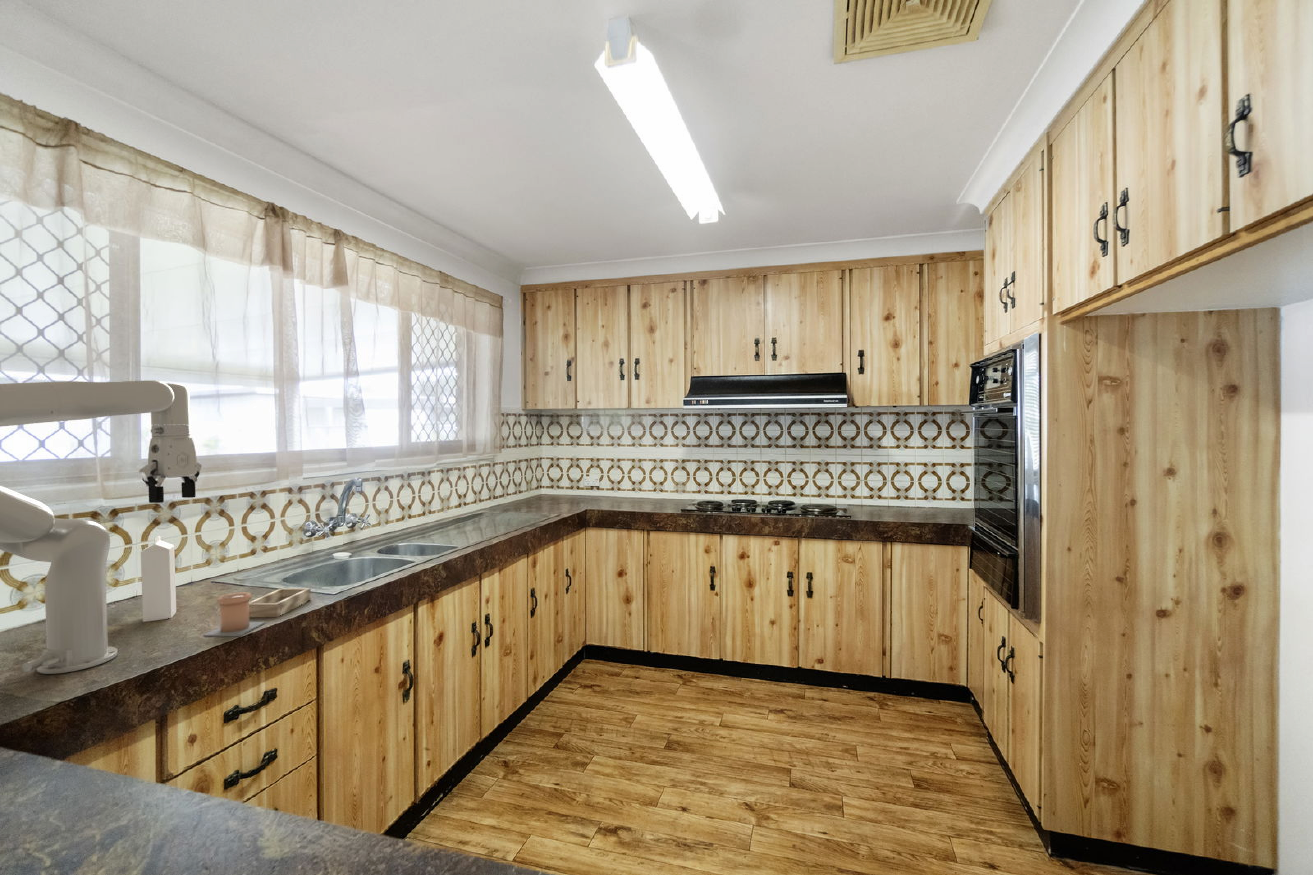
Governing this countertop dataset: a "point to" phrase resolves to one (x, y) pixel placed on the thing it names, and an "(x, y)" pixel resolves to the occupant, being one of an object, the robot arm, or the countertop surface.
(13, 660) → the countertop surface
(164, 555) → the milk
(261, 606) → the wooden tray
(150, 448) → the robot arm
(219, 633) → the mat
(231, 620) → the pot
